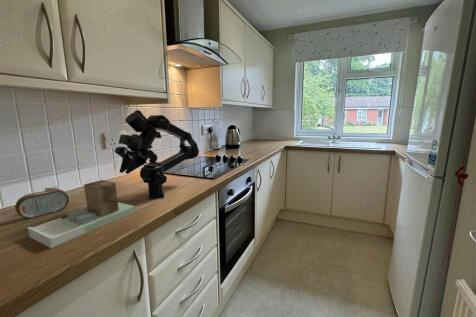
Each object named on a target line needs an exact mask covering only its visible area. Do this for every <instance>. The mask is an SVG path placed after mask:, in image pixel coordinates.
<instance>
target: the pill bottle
mask: <svg viewBox="0 0 476 317" xmlns="http://www.w3.org/2000/svg"><path fill="white" fill-rule="evenodd" d="M52 189H59V186H58V185H57V184H52V185H46V186H45V187H44V191H47V190H52Z"/></svg>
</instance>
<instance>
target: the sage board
mask: <svg viewBox="0 0 476 317" xmlns="http://www.w3.org/2000/svg"><path fill="white" fill-rule="evenodd" d="M118 208H119V210H118V211H116V212H113V213H111V214H108V215H106V216H103V217H100V216H97V215H96V220H94V221H91V222H89V223H86V224H84V225H82V224H80V223H77V222H74V221H72V220H69V219H68V217H66V218H62V221H63V225H66V226H68V227H71V228H73V229H75V228H78V227H80V226H84V233H85V234H86V233H88V232H91V231H93V230H95V229H98V228H99V227H102V226H105V225H107V224H110V223H111V222H115V221H116V220H118V219H121V218H123V217H126V216H128V215H130V214H133V213H135V212H136V206H135V205H131V204H127V203H123V202H119V201H118ZM86 211H87V212H88V210H86Z"/></svg>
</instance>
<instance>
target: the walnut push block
mask: <svg viewBox="0 0 476 317" xmlns="http://www.w3.org/2000/svg"><path fill="white" fill-rule="evenodd" d="M83 188H84V195H85V201H86V208H87V211H89V212H92V213H95V215H97V216H100V217H103V216H106V215H108V214H111V213H113V212H116V211H118V210H119V208H118V202H119V201H118V200H119V199H118V195H117V194H118V193H117V187H116V182H113V181H110V180H109V181H108V180H104V179H101V180H96V181H93V182H89V183H88V182H87V183H85V184H83Z"/></svg>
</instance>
